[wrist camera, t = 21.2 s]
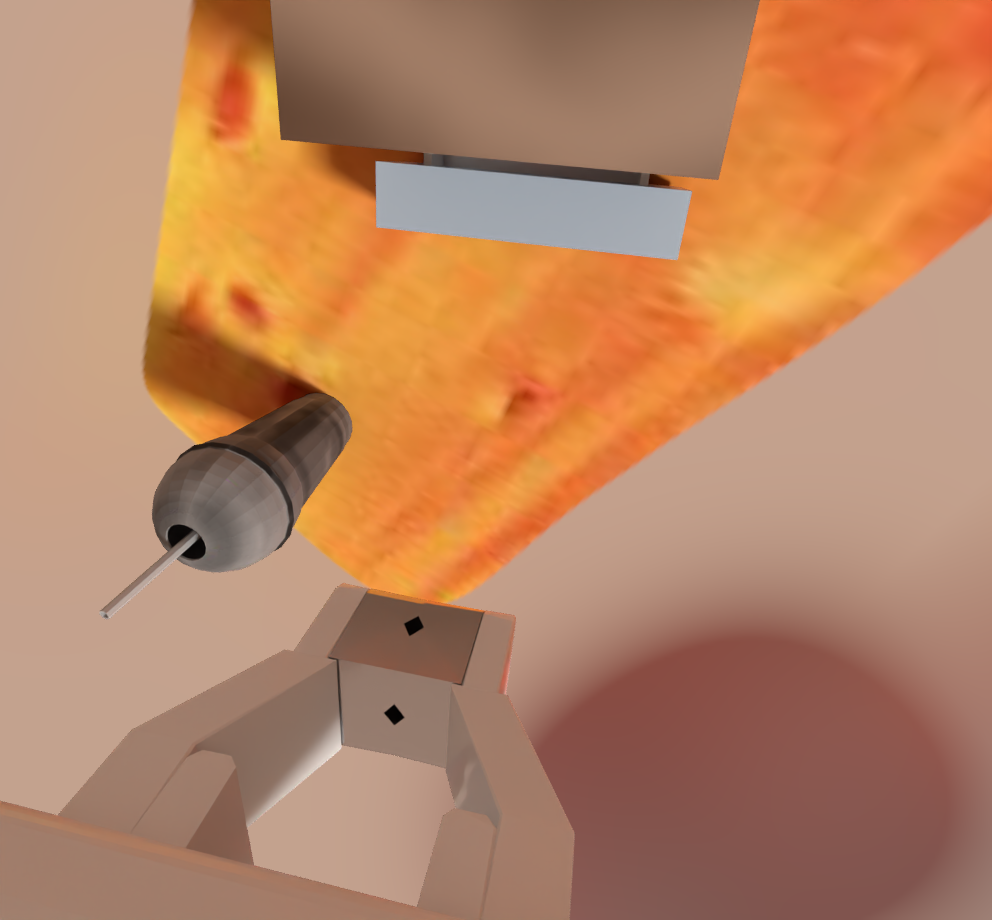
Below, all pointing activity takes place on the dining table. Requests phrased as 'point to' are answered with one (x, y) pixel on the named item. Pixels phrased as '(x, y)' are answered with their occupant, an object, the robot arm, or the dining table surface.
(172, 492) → the beverage cup
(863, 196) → the dining table surface
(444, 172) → the drawer
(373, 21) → the walnut box
